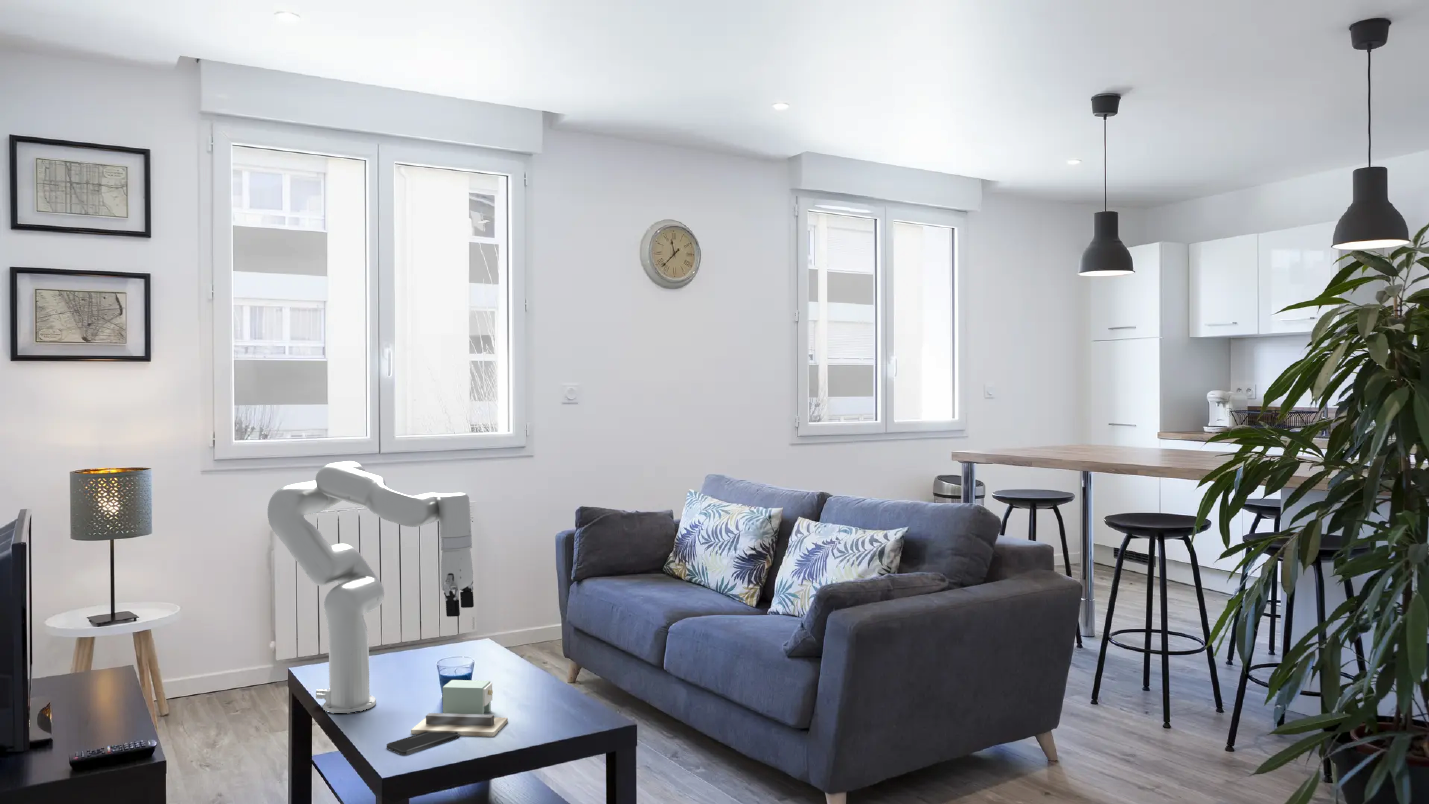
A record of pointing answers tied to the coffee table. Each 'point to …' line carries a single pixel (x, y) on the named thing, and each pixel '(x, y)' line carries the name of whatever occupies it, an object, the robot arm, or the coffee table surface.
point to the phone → (421, 742)
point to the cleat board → (461, 728)
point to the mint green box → (467, 697)
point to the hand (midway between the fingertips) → (460, 611)
